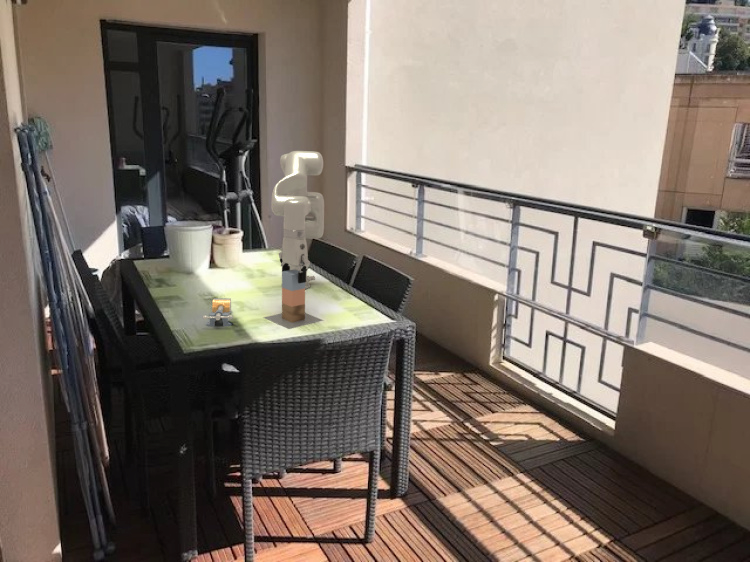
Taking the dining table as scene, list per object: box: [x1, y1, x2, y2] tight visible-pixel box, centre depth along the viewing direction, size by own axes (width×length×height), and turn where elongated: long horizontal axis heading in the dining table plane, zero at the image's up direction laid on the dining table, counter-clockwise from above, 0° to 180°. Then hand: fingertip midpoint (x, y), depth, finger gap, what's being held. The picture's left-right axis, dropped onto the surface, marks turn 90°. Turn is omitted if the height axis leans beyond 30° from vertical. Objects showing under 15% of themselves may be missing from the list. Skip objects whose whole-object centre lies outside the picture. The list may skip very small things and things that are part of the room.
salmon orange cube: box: [281, 287, 306, 307], centre depth 229 cm, size 6×6×6 cm
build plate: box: [263, 312, 324, 330], centre depth 231 cm, size 16×16×1 cm
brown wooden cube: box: [281, 302, 306, 322], centre depth 230 cm, size 6×6×6 cm
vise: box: [202, 297, 234, 327], centre depth 228 cm, size 18×10×7 cm, turn 8°
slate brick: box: [281, 269, 306, 291], centre depth 227 cm, size 6×6×6 cm
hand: (293, 279), depth 227 cm, fingers open, 9 cm apart
